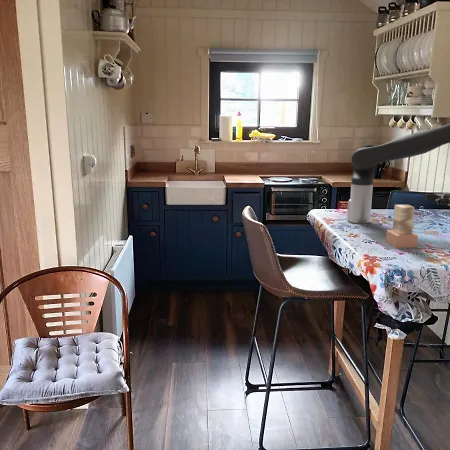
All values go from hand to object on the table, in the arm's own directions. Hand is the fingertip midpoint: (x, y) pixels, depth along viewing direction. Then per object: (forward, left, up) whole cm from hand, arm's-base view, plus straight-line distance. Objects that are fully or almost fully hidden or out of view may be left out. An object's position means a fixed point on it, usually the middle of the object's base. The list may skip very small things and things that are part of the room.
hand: (431, 199), depth 170 cm
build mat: (-9, -9, -17) cm, 21 cm away
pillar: (-4, -12, -11) cm, 17 cm away
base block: (-4, -12, -16) cm, 20 cm away
